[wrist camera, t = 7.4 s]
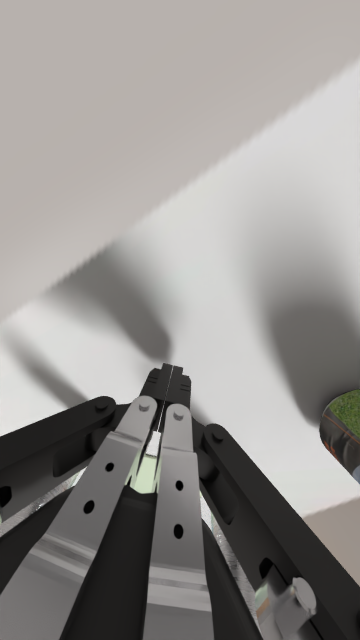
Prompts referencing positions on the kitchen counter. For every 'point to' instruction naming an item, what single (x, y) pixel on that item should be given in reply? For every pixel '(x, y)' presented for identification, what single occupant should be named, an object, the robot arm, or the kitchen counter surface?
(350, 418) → the beverage can
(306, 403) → the kitchen counter surface
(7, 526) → the post
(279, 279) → the kitchen counter surface
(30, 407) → the kitchen counter surface
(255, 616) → the post
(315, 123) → the kitchen counter surface
